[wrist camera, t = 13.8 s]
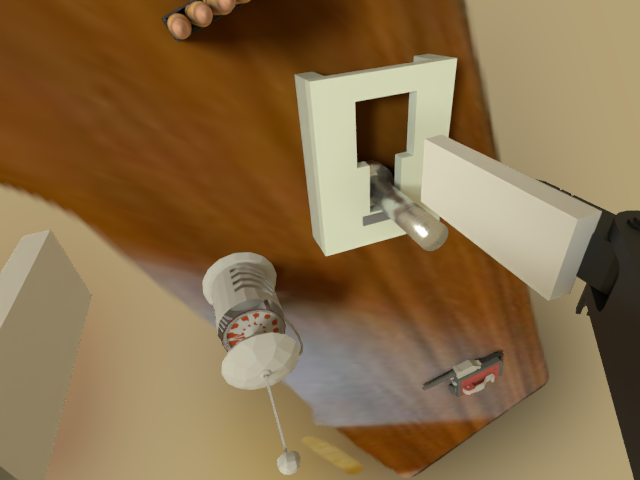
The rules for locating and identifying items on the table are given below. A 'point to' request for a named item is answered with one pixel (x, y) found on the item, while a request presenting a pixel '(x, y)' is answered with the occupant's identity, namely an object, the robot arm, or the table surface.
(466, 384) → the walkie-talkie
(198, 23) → the ammunition clip
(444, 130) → the keyhole board
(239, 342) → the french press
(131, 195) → the table surface
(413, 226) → the steel peg
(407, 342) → the table surface
